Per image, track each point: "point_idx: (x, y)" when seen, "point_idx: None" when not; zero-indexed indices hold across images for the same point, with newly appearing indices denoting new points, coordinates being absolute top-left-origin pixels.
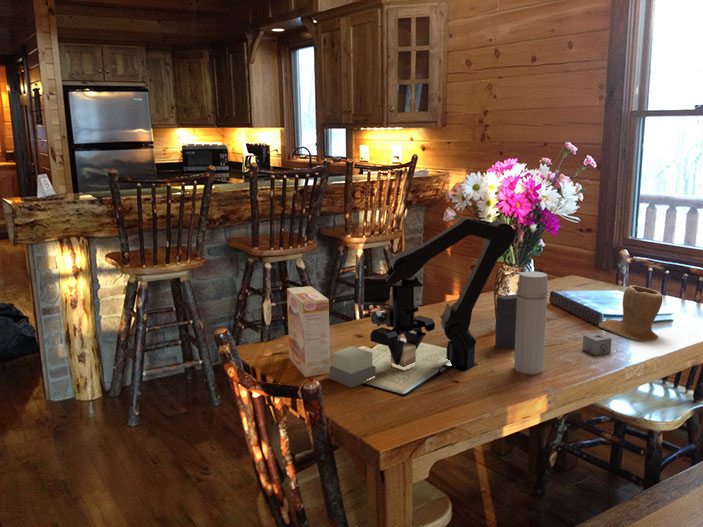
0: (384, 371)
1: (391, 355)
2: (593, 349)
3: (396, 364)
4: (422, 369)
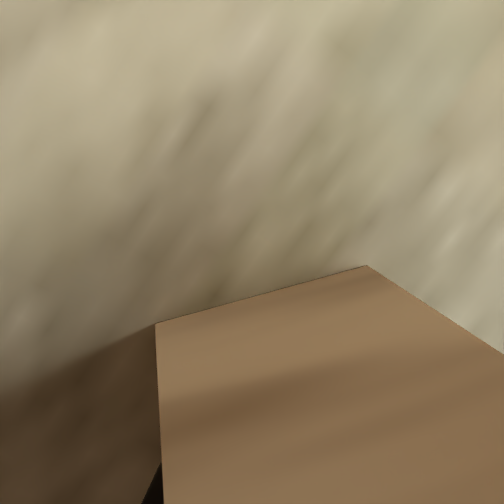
0: (6, 394)
1: (164, 452)
2: None
3: None
4: None
